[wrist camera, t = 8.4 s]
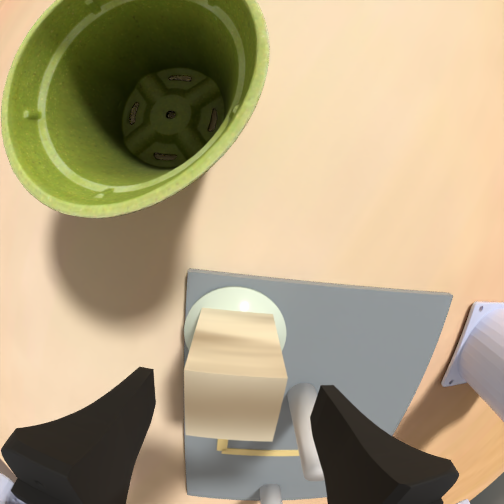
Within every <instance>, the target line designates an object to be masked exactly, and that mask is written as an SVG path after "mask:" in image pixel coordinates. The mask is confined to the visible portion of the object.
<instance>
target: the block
mask: <svg viewBox="0 0 504 504" xmlns="http://www.w3.org/2000/svg"><path fill="white" fill-rule="evenodd" d="M287 379H288V377H287V373H286V368H285V364H284V360H283V355H282V351H281V347H280V342H279V338H278V334H277V329H276V325H275V321H274V316H273V314H265V313H253V312H242V311H231V310H221V309H211V308H202V309H201V313H200V316H199V319H198V323H197V326H196V329H195V333H194V336H193V340H192V343H191V347H190V350H189V354H188V357H187V361H186V364H185V368H184V404H185V432H186V435H189V436H197V437H205V438H215V439H227V440H242V441H271V442H272V441H273V437H274V434H275V430H276V426H277V422H278V418H279V414H280V409H281V405H282V401H283V397H284V393H285V388H286V384H287Z"/></svg>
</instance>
